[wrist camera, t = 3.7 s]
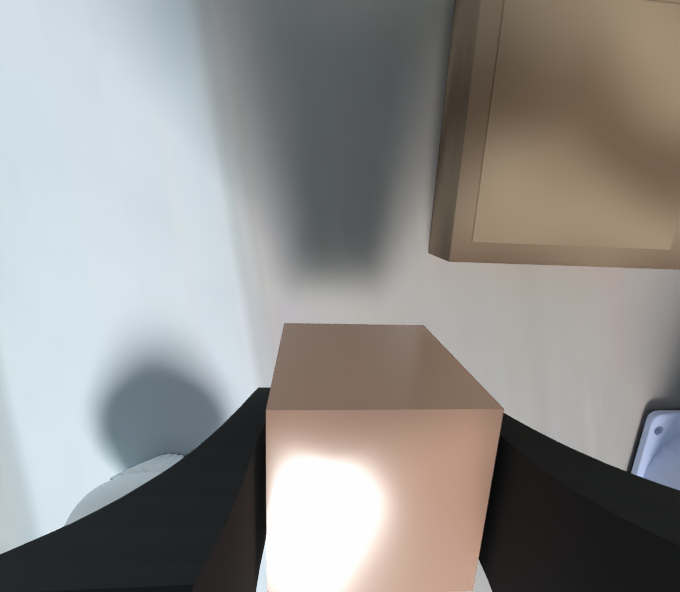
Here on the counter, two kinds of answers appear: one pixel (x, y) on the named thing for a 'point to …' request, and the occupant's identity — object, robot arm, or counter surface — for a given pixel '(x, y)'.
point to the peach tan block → (375, 462)
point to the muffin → (122, 485)
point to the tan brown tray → (561, 135)
